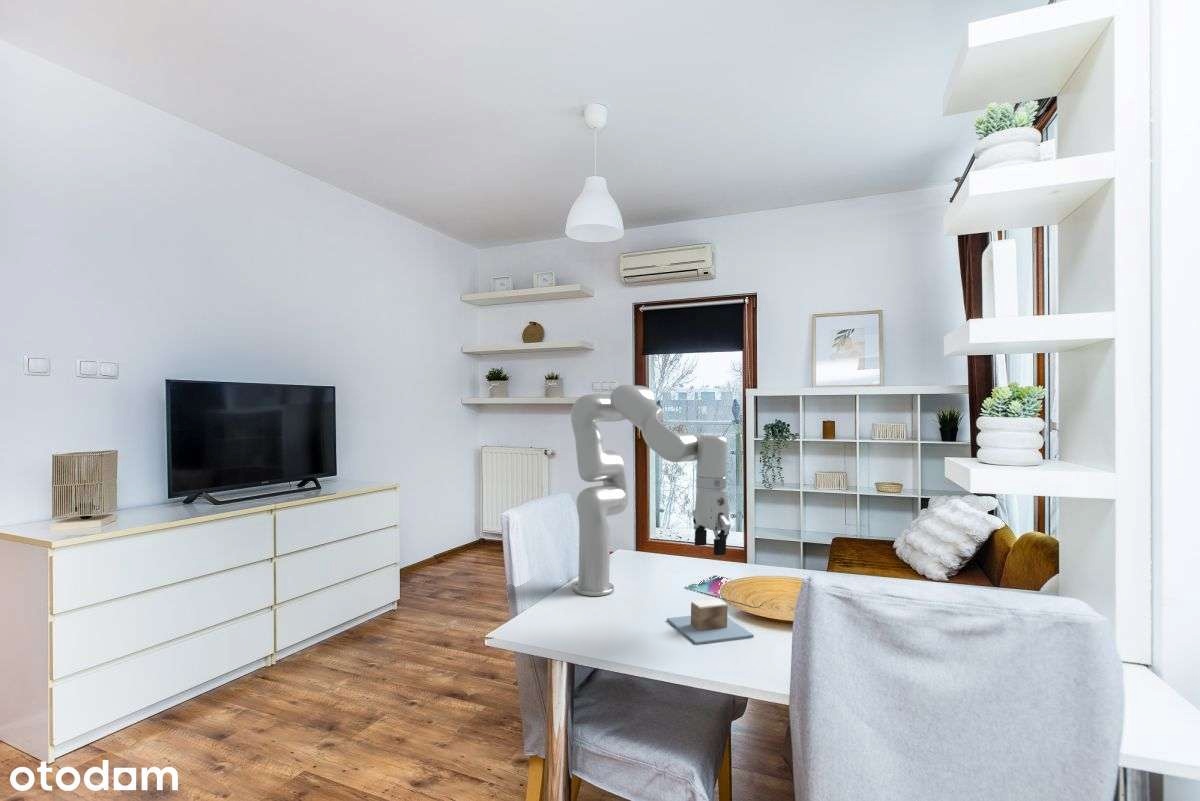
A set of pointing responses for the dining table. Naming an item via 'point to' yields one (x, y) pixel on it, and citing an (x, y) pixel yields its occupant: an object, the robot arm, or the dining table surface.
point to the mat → (709, 631)
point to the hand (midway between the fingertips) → (709, 549)
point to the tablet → (708, 586)
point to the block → (709, 614)
